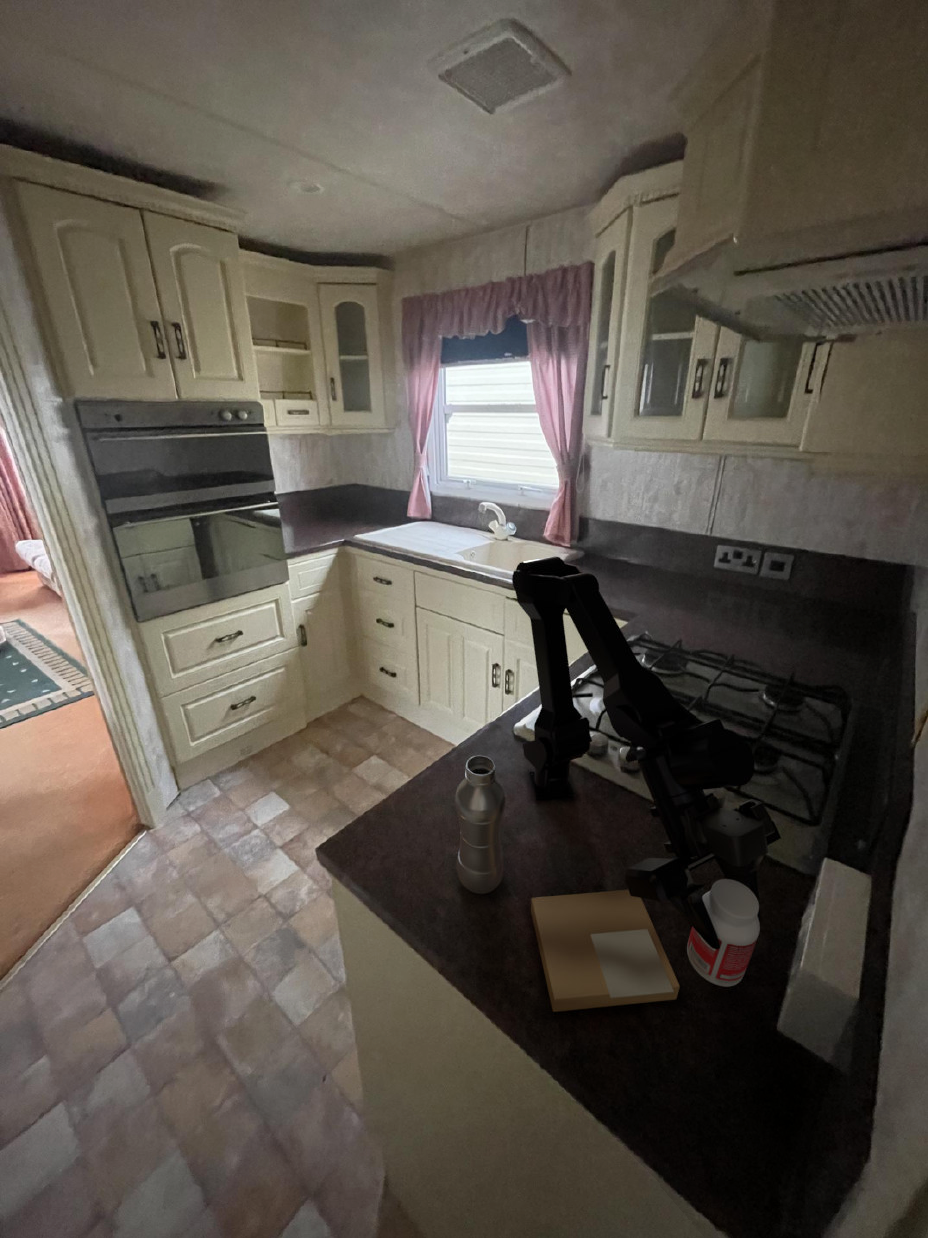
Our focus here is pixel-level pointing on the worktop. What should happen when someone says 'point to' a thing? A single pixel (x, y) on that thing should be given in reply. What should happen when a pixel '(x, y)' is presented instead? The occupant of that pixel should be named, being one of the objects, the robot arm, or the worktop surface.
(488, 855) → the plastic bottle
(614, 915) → the labeled cardboard parcel
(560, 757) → the robot arm
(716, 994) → the worktop surface
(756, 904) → the pill bottle
